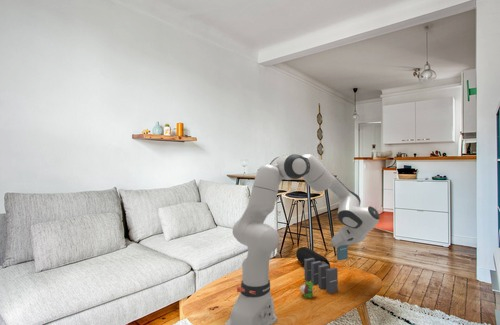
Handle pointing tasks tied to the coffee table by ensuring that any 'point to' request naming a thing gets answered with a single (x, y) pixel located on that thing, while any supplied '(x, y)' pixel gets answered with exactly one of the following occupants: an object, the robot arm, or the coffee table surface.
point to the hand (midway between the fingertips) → (341, 246)
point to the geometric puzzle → (307, 289)
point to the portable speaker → (310, 256)
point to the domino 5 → (342, 252)
